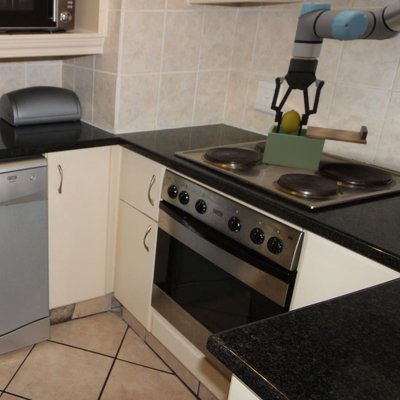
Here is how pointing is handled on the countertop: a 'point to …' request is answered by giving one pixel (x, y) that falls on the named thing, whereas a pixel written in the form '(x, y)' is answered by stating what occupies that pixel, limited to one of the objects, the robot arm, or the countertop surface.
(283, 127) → the lemon
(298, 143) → the caddy
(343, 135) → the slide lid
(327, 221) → the countertop surface
